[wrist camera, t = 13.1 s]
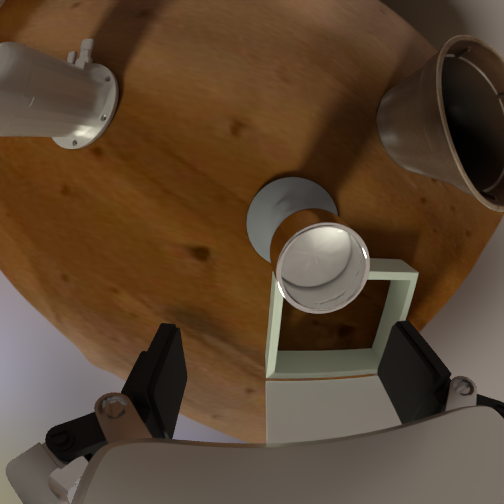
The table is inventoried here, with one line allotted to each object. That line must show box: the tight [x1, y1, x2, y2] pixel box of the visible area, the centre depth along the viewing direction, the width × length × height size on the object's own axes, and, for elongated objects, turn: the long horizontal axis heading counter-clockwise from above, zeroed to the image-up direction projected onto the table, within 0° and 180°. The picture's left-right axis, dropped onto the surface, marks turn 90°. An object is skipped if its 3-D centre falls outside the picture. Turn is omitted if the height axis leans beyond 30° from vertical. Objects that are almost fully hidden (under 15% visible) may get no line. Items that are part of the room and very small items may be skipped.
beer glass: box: [269, 198, 370, 314], centre depth 25 cm, size 7×7×15 cm
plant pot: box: [377, 35, 504, 212], centre depth 21 cm, size 16×16×16 cm
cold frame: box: [265, 258, 419, 378], centre depth 34 cm, size 16×18×5 cm
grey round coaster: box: [247, 177, 338, 263], centre depth 32 cm, size 11×11×1 cm
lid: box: [266, 376, 402, 443], centre depth 27 cm, size 16×18×1 cm
